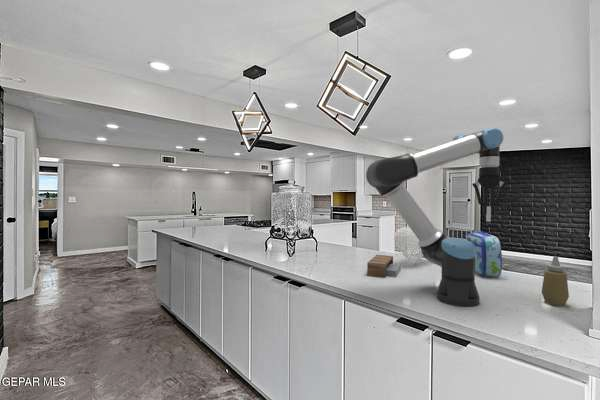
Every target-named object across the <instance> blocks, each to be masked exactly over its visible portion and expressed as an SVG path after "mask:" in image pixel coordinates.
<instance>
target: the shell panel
mask: <svg viewBox="0 0 600 400" xmlns="http://www.w3.org/2000/svg"><path fill="white" fill-rule="evenodd" d="M401 268H402V265H401V264H398V263H397V264H395V263H393V264H387V266H386V277H391V278H397V276H398V275H399V274H400V272H401V270H402V269H401Z"/></svg>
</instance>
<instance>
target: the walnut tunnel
mask: <svg viewBox="0 0 600 400" xmlns="http://www.w3.org/2000/svg"><path fill="white" fill-rule="evenodd" d="M366 264H367V268H366V269H367V272H366V273H367V277H368V276H369V277H374V278H375V277H377V278H385V279H386V278H387V276H386V266H387V264H394V256H393V255H387V254H376V255H374V256H373V257H372V258H371V259H370V260H369V261H367V263H366Z"/></svg>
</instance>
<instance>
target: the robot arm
mask: <svg viewBox="0 0 600 400" xmlns="http://www.w3.org/2000/svg"><path fill="white" fill-rule="evenodd" d="M503 141H504V134H503V132H502V131H501V130H500V129H499V128H497V127H492V128H487V129H484V130H481V131H478V132H475V133H470V134H467V135H463V134H460V135H455V136H454V137H453V138H452V140H451V141H448V142H445V143H443V144H440V145H437V146H434V147H430V148H428V149H425V150H422V151H419V152H417V153H413V154H412V153H410V152H408V153H405V154H402V155H397V156H392V157H385V158H382V159H378V160H375V161H373V162H372V163H371V164H370V165H368V167H367V169H366V171H365V180H366V181H367V183H368V184H369V185H370V186H371V187H373V188H375V190H376V191H377V192H378V194H379V196H381V197H385V198H387V199H388V201H389V202H390V204H392V206H393V207H394V209H395V210H396V212H398V214H399V216H400V217H401V218H402V219H403V220H404V222H405V223H406V225H407V227H410V229H411V230H412V231H413V232H412V234H413V233H414V234H415V235H416V237H415V238H418V240H417V243H418V246H419V247H420V248H421V252H422V253H421V252H420V253H421V254H423V256H422V257H424V259H426V260H427V261H428V262H430V263H431V264H434V265H436V266H439V267H440V268H441V278H440V281H439V283H438V287H437V290H436V299H437V300H439V301H441V302H442V303H445V304H448V305H453V306H457V307H458V306H459V307H475V306H478V305H480V300H481V299H480V294H479V291H478V288H477V285H476V282H475V279H476V277H475V276H476V272H475V255H476V253H475V246H474V244H473V243H472V242H470V241H468V240H466V239H463V238H458V237H447V235H446V234H445V233H444V231H443V230H442V229H441V228H437V227H435V226H434V224H433V223H432V221H431V220H430V219H429V217H428V216H427V215H426V213H425V212H424V210H423V209H422V208H421V207H420V205H419V204H418V203H417V201H416V200H415V199H414V197H413V196H412V195H411V193H410V192H409V190H408V189H407V187H406V186H405V182H406V181H408V180H411V179H414V178H417V177H418V176H419V174H420V173H423V172H426V171H428V170H432V169H434V168H437V167H440V166H443V165H445V164H449V163H452V162H455V161H457V160H460V159H463V158H466V157H469V156H472V155H474V154H478V156H479V157H478V159H479V160H478V164H479V165H478V166H479V169H478V179H477V180H476V182H473V183H472V185H471V186H472V187H473V189H474V191H475V194H476V199H477V202H478V204H479V205H480V206H482V207H483V210H482V211H483V214H485V221H486V222H487V223H489V222H491V221H492V218H491V217H492V216H491V215H492V214H493V215H494V212H495V211H494V210H495V206H498V205H500V202H501V198H502V194H503V192H504V189H505V187H506V186H507V182H504V181H502V180H501V178H500V167H499V166H500V152H501V151H500V150H501V149H500V147H501V145H502V144H503ZM479 185H480V186H481V187H482V188H483V200H482V197H481V193H480V191H479ZM498 185H499V187H498V193H497V195H496V199H495V188H496V187H497V186H498ZM488 189H490V190H489V195H490V197H489V198H490V199H489V200H490V201H489V205H488Z"/></svg>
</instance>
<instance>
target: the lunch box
mask: <svg viewBox="0 0 600 400" xmlns="http://www.w3.org/2000/svg"><path fill="white" fill-rule="evenodd" d="M465 240H468V241H470V242H472V243H473V244H474V246H475V253H476V255H475V274H478V275H480V276H482V277H500V276H501V274H502V270H503V267H502V266H503V265H502V263H503V261H502V258H503V257H502V255H503V253H502V247H501V246H502V245H501V241H500V239H499V237H498V236H495V235H492V234H489V233H487V232H483V231H481V230H480V231H476V232H469V233H467V235H466V239H465Z"/></svg>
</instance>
